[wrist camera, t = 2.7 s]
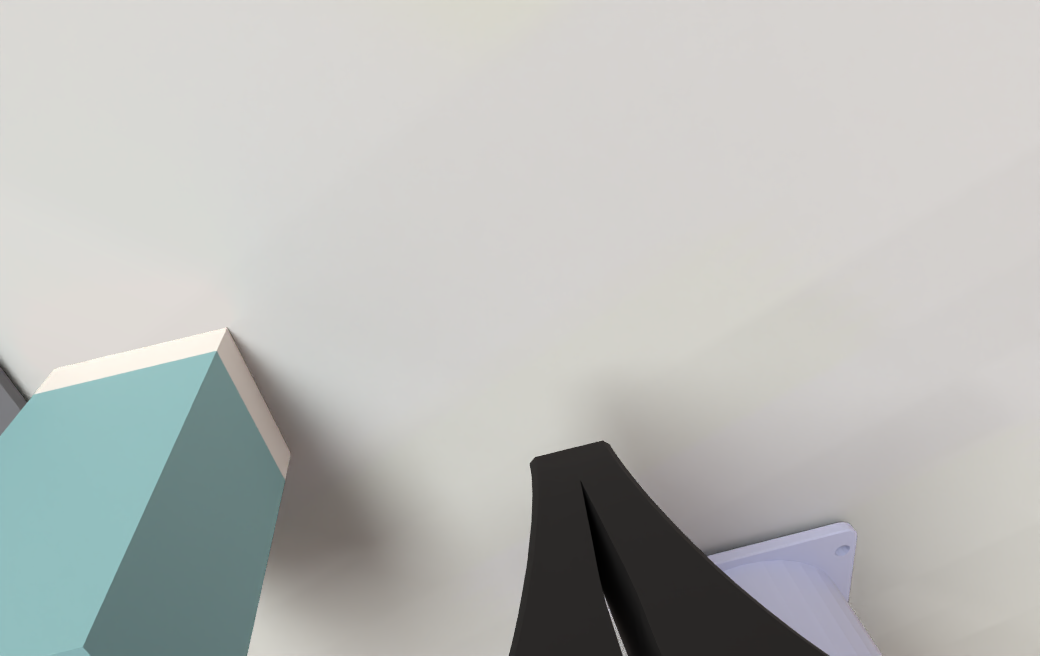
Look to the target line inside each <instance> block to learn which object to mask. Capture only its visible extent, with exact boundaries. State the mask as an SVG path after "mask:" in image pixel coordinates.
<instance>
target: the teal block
mask: <svg viewBox="0 0 1040 656" xmlns="http://www.w3.org/2000/svg"><path fill="white" fill-rule="evenodd" d="M290 456H291V453H290V451H289V449H288V447H287V445H286V443H285V441H284V439H283V437H282V435H281V433H280V431H279V429H278V427H277V425H276V423H275V421H274V419H273V417H272V415H271V413H270V411H269V409H268V407H267V405H266V403H265V401H264V399H263V397H262V395H261V393H260V391H259V389H258V387H257V385H256V383H255V381H254V379H253V377H252V375H251V374H250V372H249V370H248V368H247V366H246V364H245V362H244V360H243V358H242V356H241V354H240V352H239V350H238V348H237V346H236V344H235V342H234V340H233V338H232V336H231V334H230V332H229V330H228V328H223V329H218V330H214V331H210V332H206V333H202V334H197V335H193V336H189V337H185V338H181V339H177V340H172V341H168V342H164V343H160V344H156V345H151V346H147V347H143V348H139V349H135V350H130V351H126V352H122V353H118V354H114V355H109V356H105V357H101V358H97V359H93V360H89V361H84V362H80V363H76V364H72V365H68V366H63V367H59V368H55V369H54V370H53V371H52V373H51V374H50V375H49V376H48V378H47V379H46V380H45V381H44V382H43V384H42V385H41V386H40V387H39V389H38V390H37V391H36V392H35V394H34V395H33V396H32V397H31V399H30V400H29V401H28V402H27V403H26V405H25V406H24V407H23V408H22V410H21V411H20V412H19V413H18V415H17V416H16V417H15V418H14V420H13V421H12V422H11V423H10V425H9V426H8V427H7V428H6V429H5V431H4V432H3V433H2V434H1V436H0V656H247V653H248V649H249V644H250V639H251V635H252V630H253V626H254V621H255V616H256V612H257V607H258V603H259V598H260V594H261V589H262V584H263V580H264V575H265V571H266V566H267V562H268V557H269V552H270V548H271V543H272V539H273V534H274V529H275V525H276V520H277V516H278V511H279V507H280V502H281V497H282V493H283V488H284V484H285V479H286V475H287V470H288V465H289V461H290Z"/></svg>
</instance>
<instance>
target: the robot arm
mask: <svg viewBox="0 0 1040 656" xmlns="http://www.w3.org/2000/svg"><path fill="white" fill-rule="evenodd" d="M530 468H531V475H532V493H533V497H532V523H531V533H530V542H529V552H528V561H527V568H526V574H525V580H524V585H523V591H522V597H521V603H520V608H519V614H518V618H517V623H516V628H515V632H514V637H513V641H512V645H511V649H510V653H509V656H623V655H622V652H621V649H620V646H619V643H618V640H617V637H616V634H615V630H614V627H613V624H612V621H611V618H610V615H609V612H608V609H607V606H606V602H605V598H606V601H607V603H608V606H609V608H610V611H611V614H612V616H613V619H614V621H615V624H616V626H617V629H618V632H619V634H620V637H621V639H622V642H623V644H624V647H625V649H626V652H627V654H628V656H883V655H882V654H881V652H880V651H879V649H878V648H877V646H876V645H875V643H874V642H873V640H872V639H871V637H870V635H869V634H868V632H867V631H866V629H865V628H864V626H863V625H862V623H861V622H860V620H859V619H858V617H857V616H856V614H855V613H854V611H853V610H852V608H851V607H850V605H849V604H848V601H849V593H850V586H851V578H852V571H853V564H854V556H855V549H856V541H857V532H856V531H855V530H854V528H853V527H852V526H851V525H850V524H849V523H846V522H838V523H834V524H830V525H826V526H822V527H819V528H815V529H811V530H807V531H803V532H799V533H795V534H791V535H787V536H783V537H779V538H775V539H771V540H768V541H764V542H760V543H756V544H752V545H748V546H744V547H740V548H736V549H732V550H728V551H724V552H720V553H717V554H713V555H709V556H706V555H705V554H704V553H703V552H702V551H701V550H700V549H699V548H698V547H696V546H695V545H694V544H693V543H692V542H691V541H690V540H689V539H688V538H687V537H686V536H685V535H684V534H683V533H682V532H681V530H680V529H679V528H678V527H677V526H676V525H675V524H674V523H673V522H672V521H671V520H670V519H669V518H668V517H667V516H666V514H665V513H664V512H663V511H662V510H661V509H660V508H659V507H658V506H657V505H656V504H655V503H654V501H653V500H652V499H651V498H650V497H649V496H648V495H647V493H646V492H645V491H644V490H643V489H642V487H641V486H640V485H639V484H638V483H637V481H636V480H635V479H634V478H633V477H632V475H631V474H630V473H629V471H628V470H627V469H626V468H625V466H624V465H623V464H622V462H621V461H620V459H619V458H618V457H617V455H616V454H615V452H614V451H613V449H612V448H611V446H610V444H608V443H606V442H604V441H599V442H595V443H591V444H587V445H583V446H579V447H575V448H571V449H567V450H562V451H558V452H554V453H550V454H546V455H542V456H538V457H535V458H534V459H533V460H532V461H531V463H530ZM603 593H604V594H603ZM604 596H605V598H604Z"/></svg>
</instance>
